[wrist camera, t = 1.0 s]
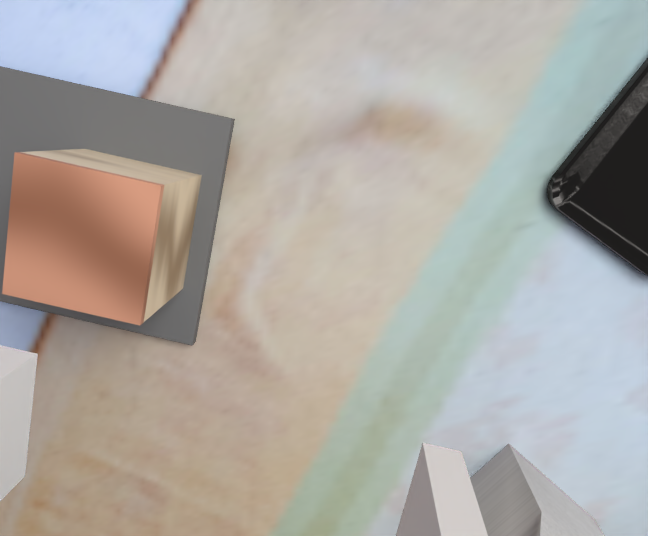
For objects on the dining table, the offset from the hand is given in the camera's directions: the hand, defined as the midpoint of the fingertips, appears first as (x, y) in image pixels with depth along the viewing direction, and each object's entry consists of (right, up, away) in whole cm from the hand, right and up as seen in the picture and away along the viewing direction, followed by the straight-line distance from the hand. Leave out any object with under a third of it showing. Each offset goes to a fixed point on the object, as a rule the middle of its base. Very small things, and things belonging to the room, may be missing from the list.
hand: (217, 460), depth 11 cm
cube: (-8, +6, +18) cm, 21 cm away
